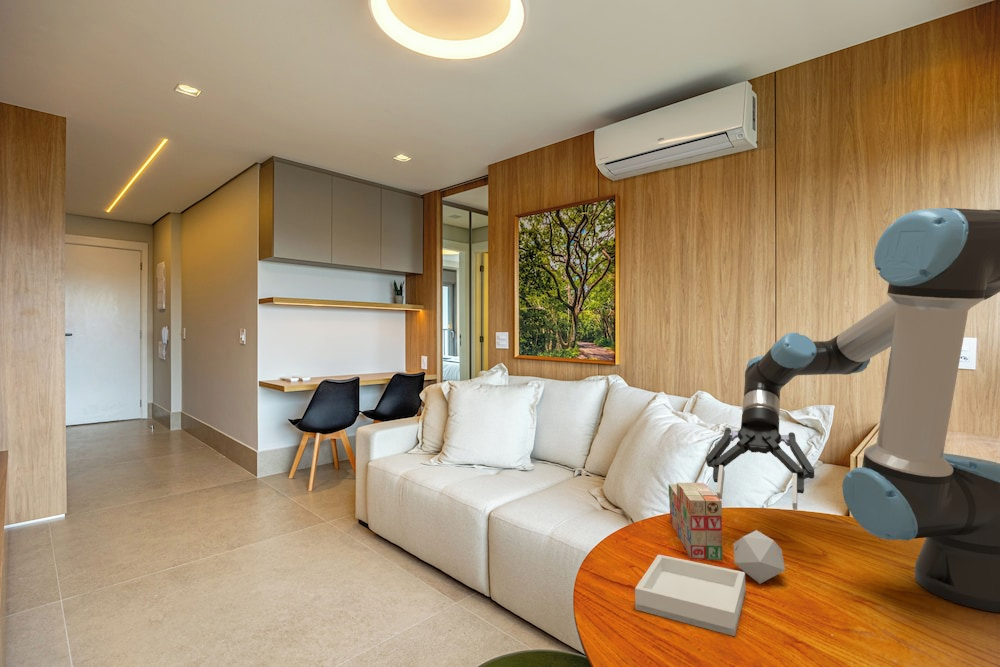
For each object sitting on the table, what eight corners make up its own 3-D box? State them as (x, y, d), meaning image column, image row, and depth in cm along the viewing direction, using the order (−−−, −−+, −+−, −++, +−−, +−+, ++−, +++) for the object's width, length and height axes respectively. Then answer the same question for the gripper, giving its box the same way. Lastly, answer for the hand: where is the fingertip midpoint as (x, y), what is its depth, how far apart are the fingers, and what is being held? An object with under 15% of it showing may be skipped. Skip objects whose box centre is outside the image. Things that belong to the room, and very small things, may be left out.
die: (749, 565, 99) (721, 528, 99) (792, 553, 95) (763, 514, 94) (752, 599, 92) (722, 559, 92) (799, 587, 88) (767, 545, 87)
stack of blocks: (669, 521, 122) (667, 471, 122) (695, 522, 121) (694, 471, 121) (691, 560, 101) (689, 499, 101) (723, 561, 100) (721, 499, 100)
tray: (745, 592, 88) (745, 572, 88) (734, 636, 75) (734, 612, 75) (658, 572, 95) (658, 554, 95) (635, 609, 83) (635, 588, 83)
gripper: (826, 429, 109) (829, 520, 96) (704, 421, 122) (693, 500, 109) (826, 408, 104) (829, 501, 92) (699, 402, 118) (687, 482, 105)
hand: (755, 501), depth 100 cm, fingers open, 13 cm apart
